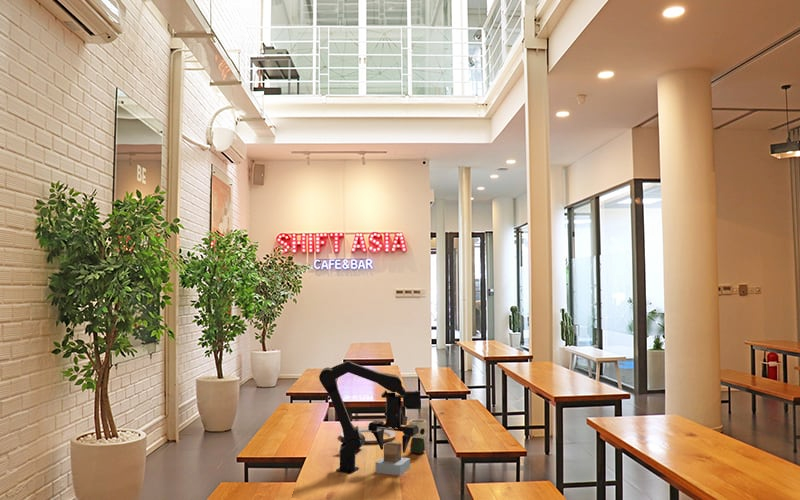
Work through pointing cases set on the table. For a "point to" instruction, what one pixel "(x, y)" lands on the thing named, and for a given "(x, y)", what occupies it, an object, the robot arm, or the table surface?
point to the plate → (365, 429)
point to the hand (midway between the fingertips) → (392, 451)
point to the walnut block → (392, 452)
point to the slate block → (392, 466)
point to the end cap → (361, 440)
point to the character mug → (418, 436)
